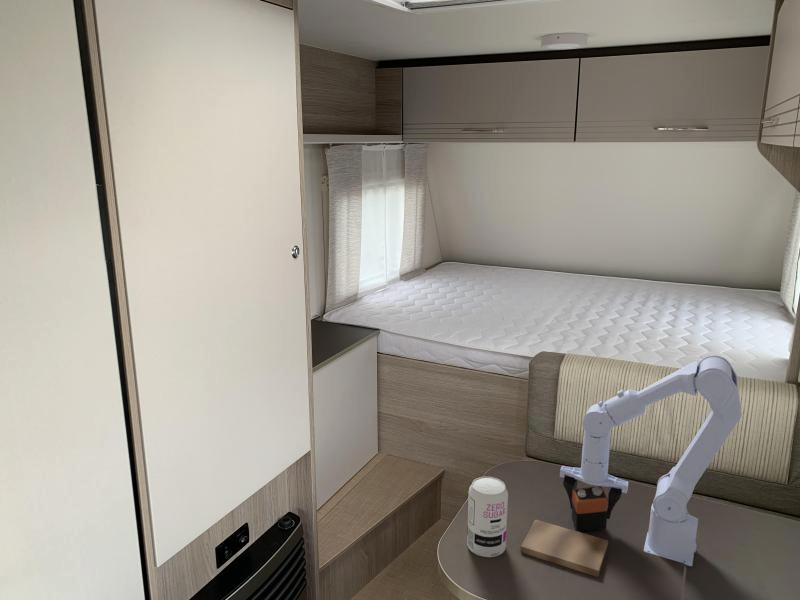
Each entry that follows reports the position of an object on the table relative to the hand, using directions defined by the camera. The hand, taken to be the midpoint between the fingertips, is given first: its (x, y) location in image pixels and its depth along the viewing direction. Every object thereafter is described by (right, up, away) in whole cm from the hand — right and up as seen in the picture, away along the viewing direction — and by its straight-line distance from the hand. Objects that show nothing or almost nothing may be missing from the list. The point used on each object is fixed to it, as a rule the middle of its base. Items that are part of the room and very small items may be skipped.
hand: (590, 511), depth 134 cm
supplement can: (-25, -5, -7) cm, 26 cm away
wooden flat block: (-8, -5, -8) cm, 12 cm away
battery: (0, -3, 0) cm, 3 cm away
